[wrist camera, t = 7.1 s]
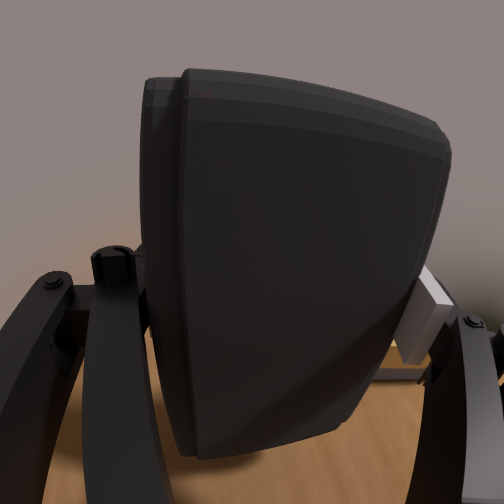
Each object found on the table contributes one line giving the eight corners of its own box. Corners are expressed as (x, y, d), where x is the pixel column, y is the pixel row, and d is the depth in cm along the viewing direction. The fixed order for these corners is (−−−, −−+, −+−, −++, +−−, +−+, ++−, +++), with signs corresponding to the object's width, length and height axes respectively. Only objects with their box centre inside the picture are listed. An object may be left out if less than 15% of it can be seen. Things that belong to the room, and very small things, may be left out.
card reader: (321, 380, 17) (391, 115, 10) (351, 430, 13) (469, 131, 7) (168, 405, 14) (151, 81, 8) (179, 469, 11) (143, 60, 4)
